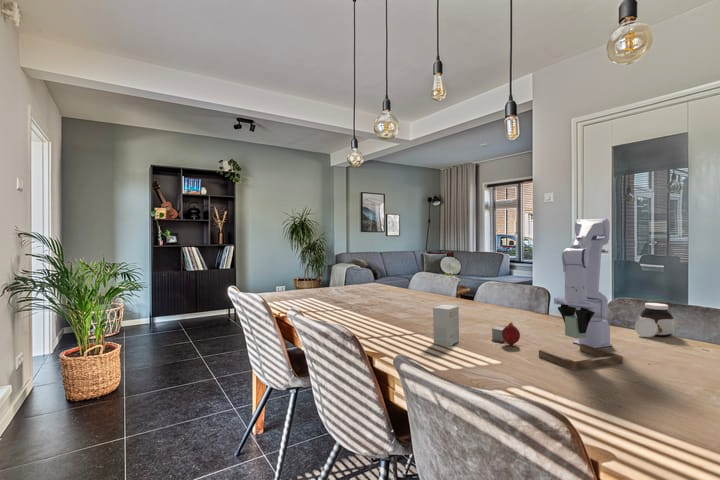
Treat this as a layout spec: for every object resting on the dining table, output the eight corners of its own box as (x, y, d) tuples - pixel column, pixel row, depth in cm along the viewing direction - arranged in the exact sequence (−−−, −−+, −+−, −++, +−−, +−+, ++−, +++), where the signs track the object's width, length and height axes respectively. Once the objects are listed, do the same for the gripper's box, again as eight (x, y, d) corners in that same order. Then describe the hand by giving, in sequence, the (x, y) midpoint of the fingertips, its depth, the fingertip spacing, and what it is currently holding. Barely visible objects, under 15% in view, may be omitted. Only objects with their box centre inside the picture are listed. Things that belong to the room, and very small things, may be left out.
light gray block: (498, 337, 138) (498, 326, 138) (508, 339, 135) (507, 328, 135) (492, 339, 136) (492, 328, 136) (502, 341, 132) (502, 330, 132)
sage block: (574, 334, 115) (574, 315, 115) (586, 337, 111) (586, 317, 111) (565, 335, 114) (564, 316, 114) (576, 338, 110) (576, 318, 110)
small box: (443, 338, 136) (443, 303, 136) (459, 341, 132) (459, 305, 132) (432, 343, 130) (432, 307, 130) (449, 346, 126) (448, 309, 126)
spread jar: (672, 334, 138) (671, 303, 138) (678, 341, 129) (677, 308, 129) (632, 330, 145) (632, 301, 145) (635, 337, 135) (635, 305, 135)
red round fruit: (521, 348, 124) (521, 324, 124) (503, 347, 125) (503, 324, 125) (518, 343, 129) (517, 320, 129) (500, 342, 130) (500, 320, 130)
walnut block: (582, 349, 121) (582, 343, 121) (622, 362, 108) (622, 355, 108) (538, 356, 115) (538, 349, 115) (575, 370, 103) (575, 363, 103)
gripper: (546, 285, 118) (546, 326, 118) (587, 291, 105) (587, 338, 105) (563, 284, 121) (563, 325, 121) (605, 289, 107) (605, 335, 107)
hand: (575, 331), depth 113 cm, fingers closed on sage block, 4 cm apart
